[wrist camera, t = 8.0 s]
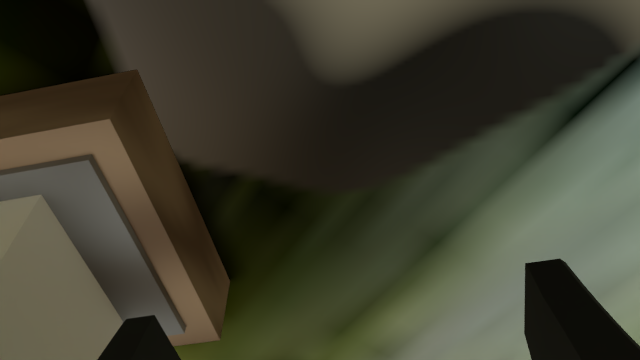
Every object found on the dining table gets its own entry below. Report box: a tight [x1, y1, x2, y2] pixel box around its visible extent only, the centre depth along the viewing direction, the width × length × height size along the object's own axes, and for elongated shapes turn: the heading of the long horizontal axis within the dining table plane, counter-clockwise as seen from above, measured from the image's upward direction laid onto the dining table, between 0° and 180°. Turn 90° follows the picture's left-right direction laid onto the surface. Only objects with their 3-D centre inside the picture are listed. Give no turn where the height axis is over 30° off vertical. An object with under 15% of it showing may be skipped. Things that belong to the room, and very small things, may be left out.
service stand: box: [0, 70, 230, 346], centre depth 21 cm, size 10×10×3 cm
